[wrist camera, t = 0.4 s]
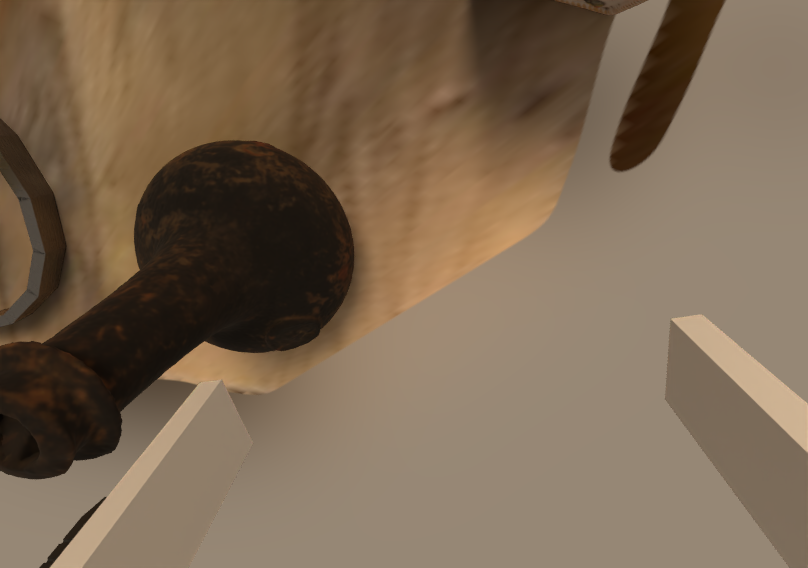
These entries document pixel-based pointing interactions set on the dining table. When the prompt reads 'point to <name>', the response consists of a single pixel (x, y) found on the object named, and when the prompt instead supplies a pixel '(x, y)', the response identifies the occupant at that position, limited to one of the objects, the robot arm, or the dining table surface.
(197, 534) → the robot arm
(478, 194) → the dining table surface
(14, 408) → the glass bottle
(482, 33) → the dining table surface
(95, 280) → the dining table surface
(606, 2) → the decorative jar
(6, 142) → the centring collar
